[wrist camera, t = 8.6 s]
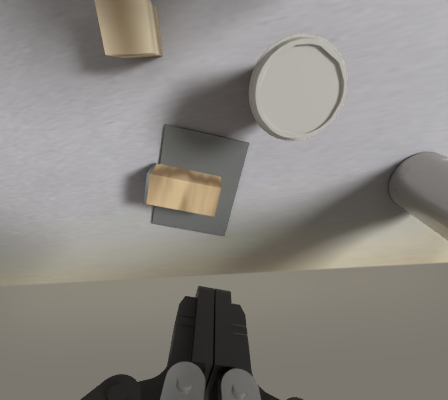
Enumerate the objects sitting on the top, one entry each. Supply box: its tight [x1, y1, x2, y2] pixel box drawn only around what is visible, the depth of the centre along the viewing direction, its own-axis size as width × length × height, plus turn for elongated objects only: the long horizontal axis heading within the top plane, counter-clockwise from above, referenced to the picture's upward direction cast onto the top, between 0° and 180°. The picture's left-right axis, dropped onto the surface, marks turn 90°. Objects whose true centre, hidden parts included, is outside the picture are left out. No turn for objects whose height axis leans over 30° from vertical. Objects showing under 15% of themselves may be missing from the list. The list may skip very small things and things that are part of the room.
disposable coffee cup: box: [249, 34, 348, 141], centre depth 30 cm, size 10×10×12 cm
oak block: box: [144, 163, 221, 217], centre depth 38 cm, size 4×4×10 cm
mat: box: [152, 124, 249, 236], centre depth 41 cm, size 12×16×1 cm
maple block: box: [94, 0, 163, 58], centre depth 30 cm, size 5×5×6 cm
